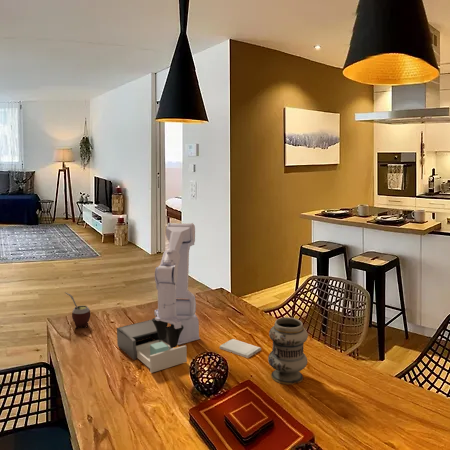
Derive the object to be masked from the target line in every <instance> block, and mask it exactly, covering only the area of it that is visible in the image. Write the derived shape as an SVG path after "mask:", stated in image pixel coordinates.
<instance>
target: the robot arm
mask: <svg viewBox="0 0 450 450" xmlns="http://www.w3.org/2000/svg"><path fill="white" fill-rule="evenodd" d="M165 235H166V239H167V240H168V247H167V249H166V250H164V252H163V254H162V258H161V261H160V264H159V265H158V266H156V267H155V270H154V281H155V289H156V291H157V309H154V314H153V315H154V316H155V317H154V318H152V319H151V320H152V321H153V323H154V325H155V327H156V330H157V333H158V337H159V340H162V339H166V333H167V334H168V337H169V344H170V348H177V347H178V346H179V345H184V344H186V343H187V344H188V343H191V342H194V341H197V340H200V339H201V336H200V323H199V322H200V321H199V318H198V316H197V315H196V312H197V311H196V310H197V304H196V296H195V294H194V293H192V291H190V290H189V273H190V270H189V265H190V248H191V247H192V246H194V245H195V242H196V226H195V224H194V222H191V223H190V222H189V223H183V222H182V223H181V222H180V223H178V222H177V223H176V222H175V223H173V222H168V223H167V225H166V228H165ZM168 324H170V325H169V326H168Z"/></svg>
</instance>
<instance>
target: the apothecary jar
mask: <svg viewBox="0 0 450 450" xmlns="http://www.w3.org/2000/svg"><path fill="white" fill-rule="evenodd" d="M307 331H308V330H306V328H304V324H303V322H302V321H301V320H300V319H298V318H295V317H288V316H287V317H279V318H277V319H276V320H275V321H274V325H273V326H272V327H271V328H270V330H269V331H268V336H269V339H271V341H272V350H271V351H270V352H269V354H268V357H267V361H268V364H269V365H270V367H271V368H273V369H274V370H273V371H272V373H271V374H270V376H271V378H272V380H273V381H275V382H276V383H279V384H281V385H294V384H300V383H301V382H302V381H303V379H304V376H303V374H302V373H301V371H303V370H304V369H305V368H306V367H307V364H308V357H307V356H306V354H305V353H304V345H305V344H304V343H306V342H307V340H308V337H309V334H308V332H307Z"/></svg>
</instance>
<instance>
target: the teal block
mask: <svg viewBox="0 0 450 450" xmlns="http://www.w3.org/2000/svg"><path fill="white" fill-rule="evenodd" d="M167 350H168V345H166V344H165V343H163V342H158V343H154V344H151V345H150V355H153V354H156V353H160V352H163V351H167Z"/></svg>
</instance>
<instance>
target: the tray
mask: <svg viewBox="0 0 450 450" xmlns="http://www.w3.org/2000/svg"><path fill="white" fill-rule="evenodd" d="M158 342H163V343H165V344H166V345H168V344H167V343H166V342H164V341H163V340H152V341H148V342H144V343H141V344H136V359H138V360H139V361H140V362H142V364H144V365H145V366H146V367H147V368H148V369H149V372H150V373H151V374H152V373H156V372H159V371H162V370H165V369H169V368H171V367H174V366H178V365H180V364H181V365H182V364H185V363H187V362H188V359H187V355H188V353H187V345H186V344H185V345H184V344H183V345H181V346H177V347H174V348H170V345H168V350H167V351H163V352H160V353H156V354H153V355H150V345H151V344H154V343H158Z"/></svg>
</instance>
